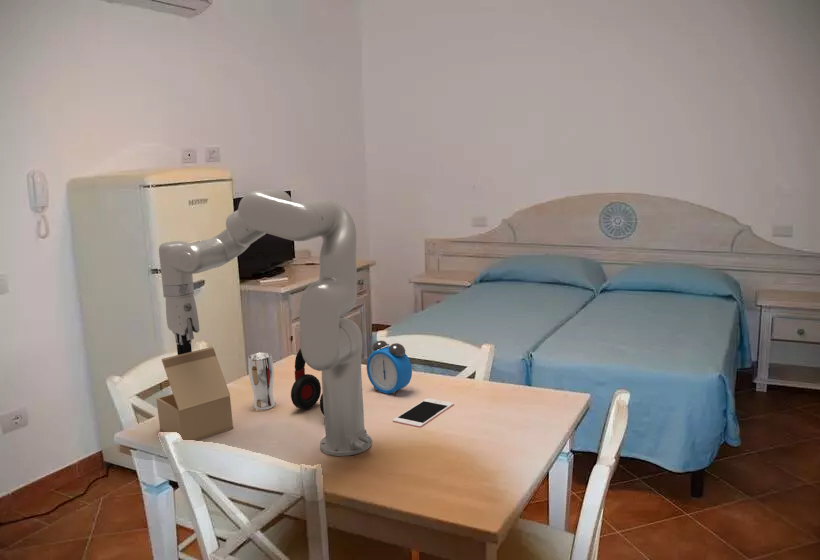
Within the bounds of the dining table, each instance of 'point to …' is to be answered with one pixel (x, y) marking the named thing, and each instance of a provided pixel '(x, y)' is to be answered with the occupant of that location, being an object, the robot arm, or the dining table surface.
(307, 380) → the headphones
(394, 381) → the alarm clock
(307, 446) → the dining table surface
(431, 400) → the cell phone
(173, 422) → the carton
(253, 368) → the beer glass
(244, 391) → the dining table surface
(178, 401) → the lid
